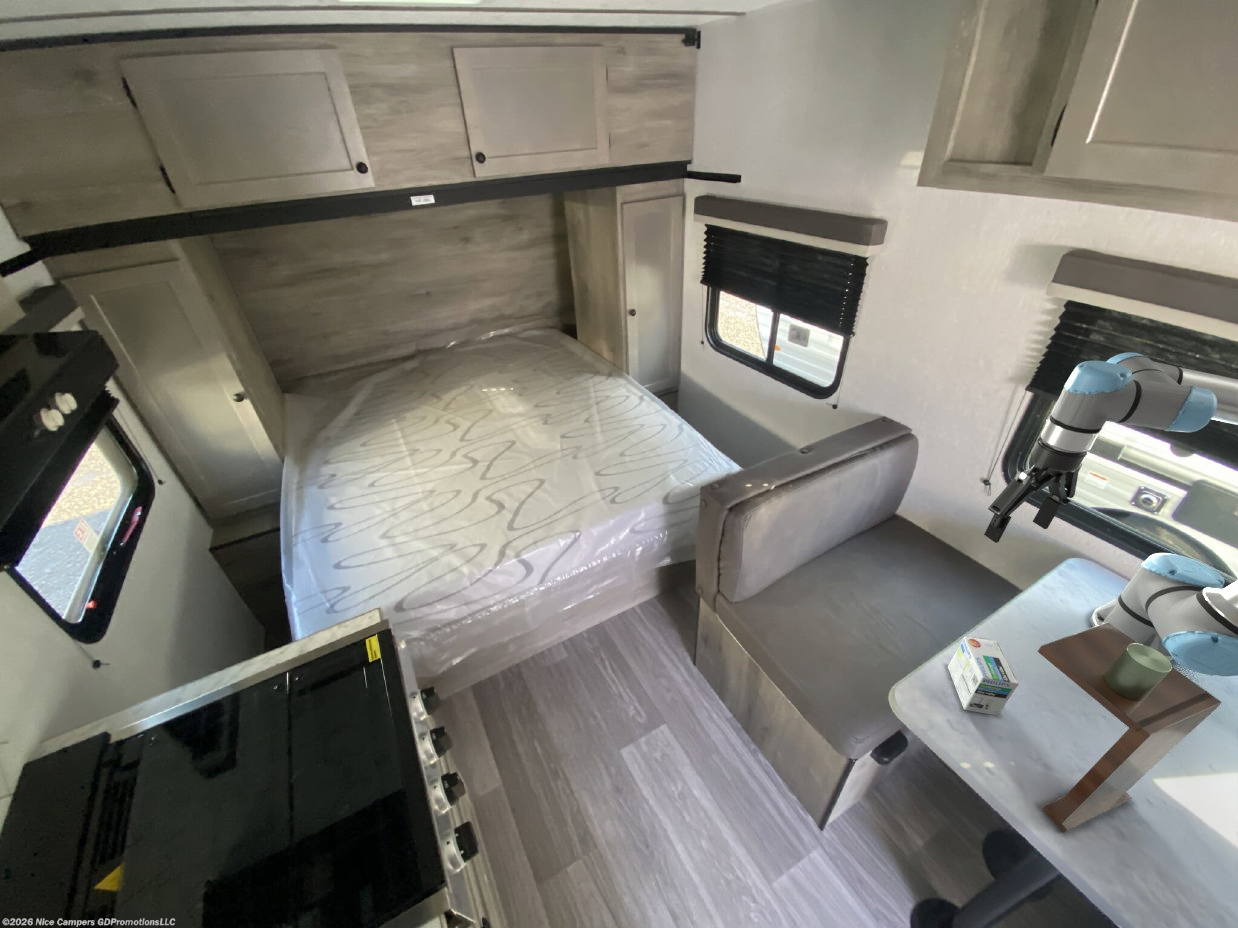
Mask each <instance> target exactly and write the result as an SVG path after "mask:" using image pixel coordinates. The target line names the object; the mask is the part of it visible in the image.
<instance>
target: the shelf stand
mask: <svg viewBox="0 0 1238 928" xmlns="http://www.w3.org/2000/svg"><path fill="white" fill-rule="evenodd" d="M1037 653H1039V654H1040V655H1041V656H1042V657H1043V658H1044V659H1045V660H1046V661H1048V662H1049V663H1050V664H1052V665H1053V666H1054V667H1055V668H1056V669H1058V671H1060V672H1061V673H1062V674H1064V675H1065V676H1066V677H1067V678H1068V679H1070V680H1071V681H1072V682H1073V683H1075V684H1076V685H1077V686H1078V687H1079V688H1081V689H1082V690H1083V691H1084V692H1085V693H1087V694H1088V695H1089V696H1090V697H1091V698H1092V699H1094V700H1095V701H1096V702H1097V703H1098V704H1100V705H1101V706H1102V707H1103V708H1105V710H1107V711H1108V712H1110V714H1112V715H1113V716H1114V717H1115V718H1116V719H1118V720H1119V721H1120V722H1121V723H1123V724H1124V725H1125V726H1126V727H1127V728H1128V729H1127V730H1126V731H1125V732H1124V733H1123V734H1122V735H1121V736H1120V737H1119V738H1118V740H1117V741H1116V742H1115V743H1113V745H1111V747H1110V748H1109V749H1108V750H1107V751H1106V752H1105V753H1104V754H1103V755H1102V756H1101V757H1100V758H1099V759H1098V761H1097V762H1095V763H1094V765H1093V766H1092V767H1091V768H1090V769H1089V770H1088V771H1087V772H1086V773H1085V774H1084V775H1083V776H1082V778H1080V780H1078V781H1077V782H1076V783H1075V785H1073V787H1072V788H1071V789H1070V790H1068V792H1067V793H1066V794H1065V795H1064V796H1061V797H1059V798H1057V799H1055V800H1053V801H1051V802H1049V803H1047V804H1044V805H1043V806H1042V808H1041V810H1042V811H1043V812H1044V814H1046V815H1047V817H1049V819H1051V821H1052V822H1053V823H1054V824H1055V825H1056V826H1057V827H1058V828H1059V829H1060V831H1062V832H1063V833H1064V834H1066V833H1067V832H1069V831H1071V830H1073V829H1076V828H1078V827H1080V826H1082V825H1084V824H1086V823H1087V822H1091V820H1094V819H1096V818H1098V817H1100V816H1102V815H1104V814H1105V813H1108V812H1110V811H1112V810H1114V809H1116V808H1118V807H1120V806H1123V805H1125V804H1127V803H1128V802H1130V801H1131V800H1132V798H1133V797H1132V796H1131V795H1130V794H1128V793H1127V792H1128V791H1129V790H1130V789H1131V788H1132V787H1133V786H1135V784H1136V783H1138V782H1139V781H1140V780H1141V779H1142V778H1143V777H1144V776H1145V775H1146V774H1147V773H1148V772H1149V771H1150V770H1152V769H1153V768H1154V767H1156V765H1157V764H1158V763H1159V762H1161V760H1163V758H1165V757H1166V756H1167V755H1168V754H1169V753H1170V752H1171V751H1172V750H1173V749H1174V748H1175V747H1177V745H1178V744H1179V743H1181V742H1182V741H1183V740H1184V739H1185V738H1186V737H1187V736H1188V735H1190V733H1192V732H1193V731H1194V730H1195V729H1196V728H1197V727H1198V726H1200V724H1201V723H1202V722H1204V720H1206V719H1207V718H1208V717H1209V716H1210V715H1211V714H1212V713H1213V712H1214V711H1215V710H1216V709H1217V708H1218V707H1219V706H1221V705H1222V703H1223V701H1221V700H1220V699H1219V698H1217V697H1215V696H1214V695H1213V694H1211V693H1210V692H1208V691H1207V690H1205V689H1204V688H1203V687H1201V686H1200V685H1199V684H1197V683H1195V682H1194V681H1193V680H1191V679H1190V678H1188V677H1187V676H1185V675H1184V674H1182V673H1181V672H1180V671H1178V670H1177V669H1175V667H1173V664H1172V663H1171V661H1169V660H1168V659H1167V658H1166V657H1165V656H1164V655H1163V654H1161V653H1160V652H1158V651H1157V650H1155V649H1153V648H1151V647H1149V646H1146V645H1142V644H1138V643H1137V642H1136V641H1134V640H1133V639H1131V638H1130V637H1129V636H1127V635H1126V634H1124V633H1123V632H1121V631H1120V630H1119V629H1117V628H1116V627H1114V626H1113V625H1111V624H1110V623H1109V622H1107V623H1104V624H1101V625H1098V626H1095V627H1090V628H1087V629H1085V630H1082V631H1079V632H1075V633H1073V634H1071V635H1068V636H1065V637H1062V638H1059V639H1057V640H1054V641H1050V642H1048V643H1045V644H1043V645H1040V646H1039V648H1038V650H1037Z"/></svg>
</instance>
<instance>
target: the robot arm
mask: <svg viewBox="0 0 1238 928" xmlns="http://www.w3.org/2000/svg"><path fill="white" fill-rule="evenodd" d="M1212 420H1214V421H1220V422H1223V423H1227V424H1232V425H1237V426H1238V379H1237V378H1232V377H1227V376H1223V375H1219V374H1215V373H1214V374H1213V373H1209V372H1203V371H1200V370H1194V369H1189V368H1185V367H1179V366H1174V365H1171V364H1167V363H1162V362H1157V361H1154V360H1152V359H1151V358H1150V357H1148V356H1146V355H1143V354H1141V353H1138V352H1129V351H1128V352H1123V353H1118V354H1116V355H1114V356H1112V357H1110V358H1109V359H1107V360H1106V361H1103V360H1086V361H1082V362H1079V364H1077V365H1076V366H1075V368H1074V369H1073V371H1072V372H1071V373H1070V375H1069V377H1068V379H1067V380H1066V382H1065V383H1064V385H1063V389H1062V390H1061V393H1060V395H1059V397H1058V399H1057V401H1056V403H1055V405H1054V408H1053V410H1052V412H1051V414H1050V415H1049V418H1047V419H1046V420H1045V425H1044V427H1043V428H1042V431H1041V433H1040V437H1039V438H1038V439H1037V440H1036V441H1035V444H1034V446H1033V449H1032V450H1031V452H1030V456H1031V458H1032V460H1033V462H1034V464H1033V465H1032V466H1031V467H1030V469H1028V470H1027V469H1025V468H1023V467H1021V468H1019V469H1018V470H1017V472H1016V474H1015V475H1014V477H1013V479H1012V480H1011V481H1010V482H1009V483H1008V484H1007V485H1006V487H1005V488H1004V489H1003V490H1002V491H1001V492H1000V494H998V496H997V497H996V498H995V499H994V500H993V502H992V503H991V504H990V505H989V507H988V508H987V510H988V511H990V512H992V513H993V515H992V518H991V520H990V522H989V523H988V526H987V528H986V530H985V532H984V534H983V535H984V536H985V537H986V538H988V539H989V540H990V541H992V542H994V543H995V544H997V543H999V542H1000V540H1001V539H1002V537H1003V535H1004V533H1005V531H1006V529H1007V527H1008V525H1009V523H1010V522H1011V519H1012V516H1011V514H1013V513H1014V512H1015V511H1016V510H1018V508H1020V506H1022V505H1023V504H1024V503H1025V502H1026V501H1027V500H1028V499H1029V498H1030V497H1032V495H1034V494H1039V493H1040V492H1041V491H1042V490H1043V489H1045V488H1048V493H1049V496H1046V497H1045V498H1044V500H1043V502H1042V503H1041V505H1040V507H1039V509H1038V510H1037V513H1036V514H1035V516H1034V518H1033V520H1032V522H1033V523H1034V524H1035V525H1037V526H1039V527H1040V528H1042V529H1043V530H1048V528H1049V527H1050V525H1051V524H1052V522H1053V520H1054V518H1055V516H1056V515H1057V513H1058V512H1059V510H1060V508H1061V506H1062V504H1063V505H1065V506H1067V505H1069V504H1070V503H1071V499H1074V497H1075V495H1076V490H1077V483H1078V478H1079V472H1080V470H1081V468H1082V466H1083V462H1084V460H1085V458H1086V457H1087V455H1088V451H1090V450H1091V449H1092V446H1093V445H1094V443H1095V442H1096V439H1097V438H1098V436H1099V434H1100V432H1101V431H1102V430H1103V427H1104V426H1105V424H1106V422H1110V423H1111V422H1112V423H1117V424H1125V425H1131V426H1135V427H1136V426H1137V427H1142V428H1143V427H1144V428H1148V429H1155V430H1163V431H1164V432H1179V433H1194V432H1198V431H1200V430H1201V429H1203V428H1204V427H1206V426H1207V425H1208V424H1209V423H1210V421H1212ZM1224 584H1225V579H1224V577H1223V576H1222V575H1221V573H1219V572H1218V571H1217V570H1215V569H1214V568H1212V567H1210V566H1209V565H1206V564H1205V563H1203V562H1200V561H1199V560H1195V559H1193V558H1190V557H1188V556H1187V557H1186V556H1183V555H1181V554H1175V553H1168V552H1158V553H1153V554H1151V555H1149V556H1148V557H1147V558H1146V559H1145V560H1144V561H1143V562H1142V563H1141V564H1140V567H1139V568H1138V569H1137V571H1136V572H1135V573H1134V575H1133V576H1132V577H1131V579H1130V580H1129V581H1128V583H1127V584H1126V586H1125V587H1124V589H1122V591H1121V593H1120V594H1119V595H1118V597H1116V598H1114V599H1111V601H1109V602H1107V603H1105V604H1103V605H1101V606H1100V607H1098V608H1096V609H1095V610H1094V612H1093V613H1092V614H1091V616H1090V618H1089V619H1090V620H1089V621H1090V626H1091V628H1093V627H1095V626H1098V625H1101V624H1104V623H1107V622H1109V623H1110V624H1111V625H1113V626H1114V627H1116V628H1117V629H1119V630H1120V631H1121V632H1123V633H1124V634H1126V635H1127V636H1129V637H1130V638H1131V639H1133V640H1134V641H1136V642H1137V643H1138V644H1142V645H1146V646H1149V647H1151V648H1153V649H1155V650H1157V651H1158V652H1160V653H1161V654H1163V655H1164V656H1165V657H1166V658H1167V659H1168V660H1169V661H1170V662H1171V661H1173V660H1174V661H1175V662H1176V663H1177V664H1178V665H1180V666H1182V667H1183V668H1185V669H1187V670H1188V671H1192V672H1194V673H1197V674H1201V675H1205V676H1219V677H1236V676H1238V580H1236V581H1235V582H1233V583H1231V584H1229V585H1228V586H1226V587H1224Z"/></svg>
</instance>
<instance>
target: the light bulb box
mask: <svg viewBox="0 0 1238 928" xmlns="http://www.w3.org/2000/svg"><path fill="white" fill-rule="evenodd" d="M947 669H948V671H949V674H950V676H951V679H952V682H953V684H954V687H955V691H956V692H957V695H958V697H959V700H960V703H961V707H963V710H964V711H969V712H974V713H975V712H976V713H981V714H987V715H992V716H999V715H1000V713H1001V712H1002V710H1003V708H1005V706H1006V704H1007V702H1008V701H1009V699H1010V698H1011V696H1012V695H1013V694H1014V692H1015V691H1016V689H1017V688H1018V686H1019V684H1020V683H1019V682H1018V680H1017V678H1016V675H1015V674H1014V673H1013V670H1012V669H1011V667H1010V666H1009V663H1008V661H1007V659H1006V657H1005V655H1004V653H1003V651H1002V649H1001V647H1000V645H999V643H998V641H996V640H990V639H984V638H977V637H971V636H963V638H962V640H961V642H960V643H959V646H958V648H957V649H956V652H955V653H954V655H953V657H952V659H951V661H950V662H949V664H948V666H947Z"/></svg>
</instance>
